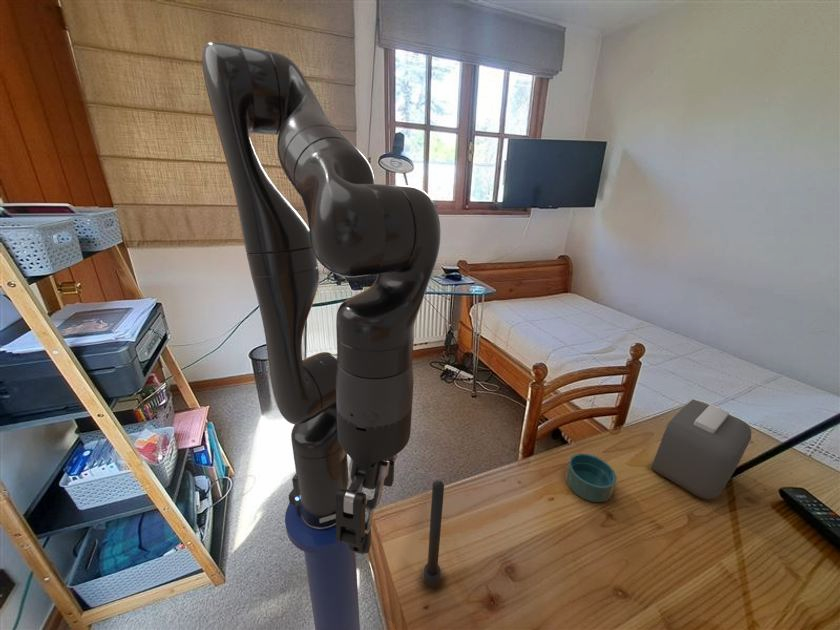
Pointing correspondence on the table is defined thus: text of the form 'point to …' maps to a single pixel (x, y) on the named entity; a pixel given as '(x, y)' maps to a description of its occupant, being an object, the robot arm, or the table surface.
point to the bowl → (590, 477)
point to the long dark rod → (434, 536)
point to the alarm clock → (702, 449)
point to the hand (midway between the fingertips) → (373, 512)
